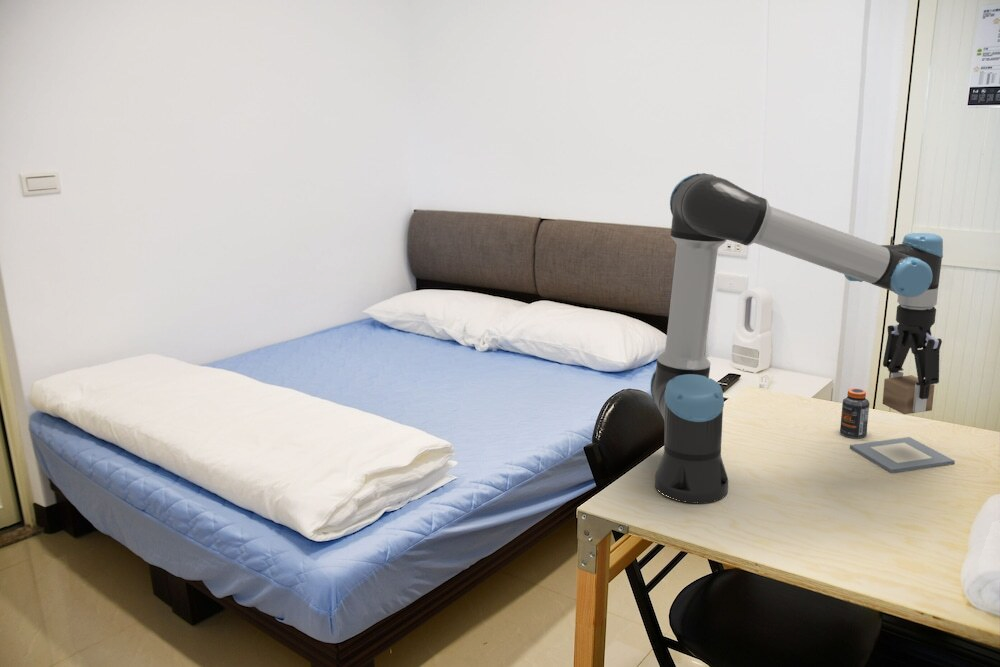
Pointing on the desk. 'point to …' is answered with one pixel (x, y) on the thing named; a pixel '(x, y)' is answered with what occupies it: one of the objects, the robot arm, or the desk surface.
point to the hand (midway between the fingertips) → (906, 405)
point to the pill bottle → (854, 414)
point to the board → (901, 454)
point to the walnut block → (903, 394)
